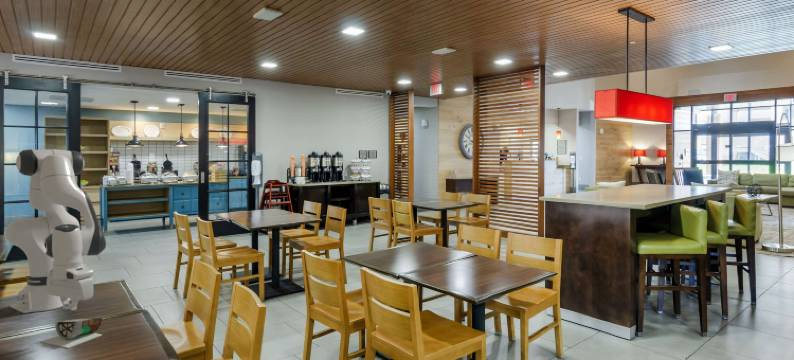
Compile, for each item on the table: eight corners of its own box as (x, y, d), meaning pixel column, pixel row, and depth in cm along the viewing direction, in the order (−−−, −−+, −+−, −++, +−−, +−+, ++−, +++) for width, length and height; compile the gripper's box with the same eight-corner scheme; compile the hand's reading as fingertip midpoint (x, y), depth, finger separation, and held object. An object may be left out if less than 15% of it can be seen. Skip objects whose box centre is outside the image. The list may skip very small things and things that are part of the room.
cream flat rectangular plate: (41, 342, 161) (41, 341, 161) (76, 329, 172) (76, 329, 172) (68, 348, 156) (67, 347, 156) (102, 335, 167) (102, 334, 167)
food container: (81, 335, 172) (53, 339, 163) (82, 318, 173) (54, 322, 164) (103, 334, 168) (75, 339, 158) (104, 317, 169) (76, 321, 160)
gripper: (40, 270, 163) (41, 308, 164) (78, 275, 155) (79, 315, 156) (58, 266, 169) (60, 303, 169) (96, 271, 161) (98, 310, 162)
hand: (70, 309), depth 163 cm, fingers closed
